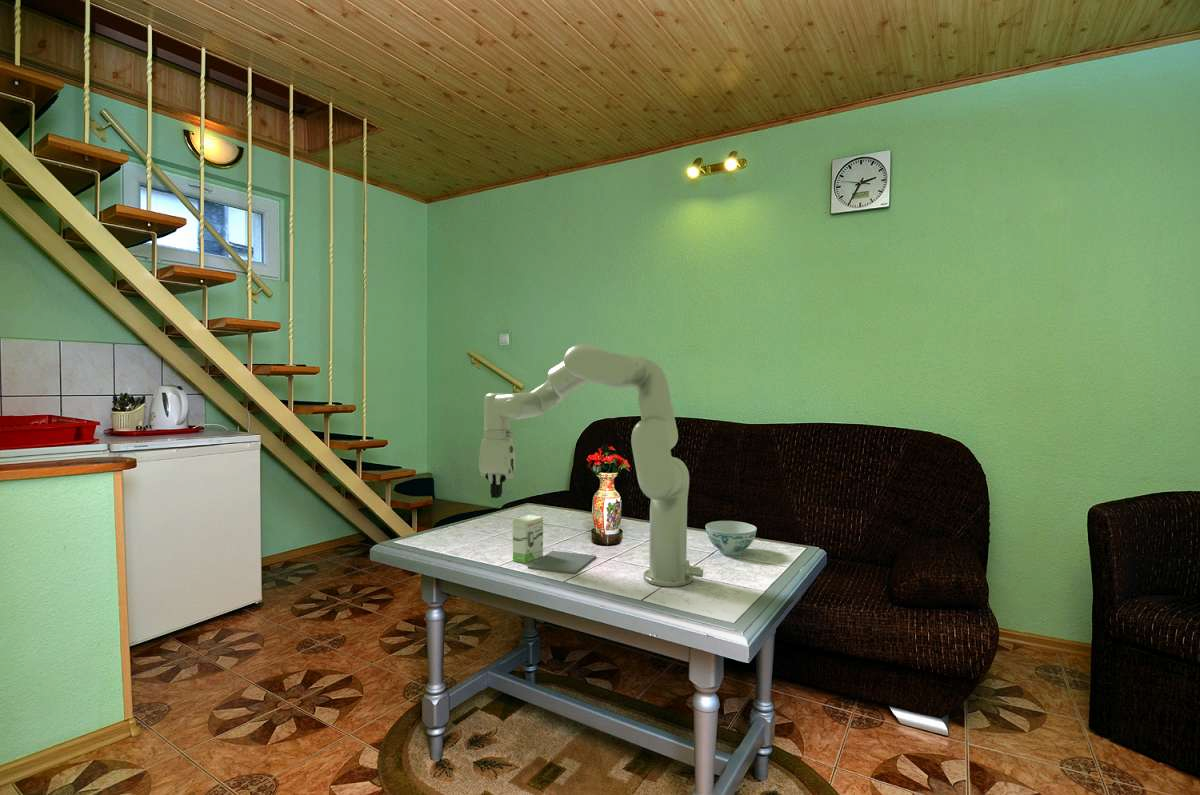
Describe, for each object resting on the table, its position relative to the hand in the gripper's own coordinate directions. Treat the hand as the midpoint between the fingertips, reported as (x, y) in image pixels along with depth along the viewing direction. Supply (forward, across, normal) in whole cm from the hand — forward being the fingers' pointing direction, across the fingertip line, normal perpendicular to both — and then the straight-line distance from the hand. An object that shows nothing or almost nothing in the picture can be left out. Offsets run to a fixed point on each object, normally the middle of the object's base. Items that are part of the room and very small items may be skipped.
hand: (496, 497), depth 172 cm
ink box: (+17, -11, 0) cm, 20 cm away
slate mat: (+17, -22, 0) cm, 27 cm away
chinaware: (+16, -65, -27) cm, 72 cm away
